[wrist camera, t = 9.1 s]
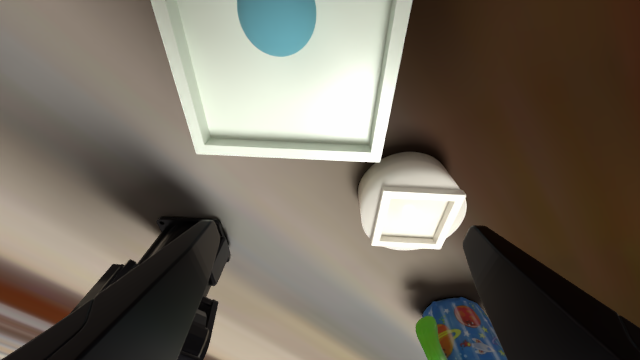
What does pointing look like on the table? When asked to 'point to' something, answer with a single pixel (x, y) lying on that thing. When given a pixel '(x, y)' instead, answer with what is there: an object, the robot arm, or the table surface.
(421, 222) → the cup
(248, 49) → the tray
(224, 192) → the table surface
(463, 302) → the snack cup
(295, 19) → the ball
